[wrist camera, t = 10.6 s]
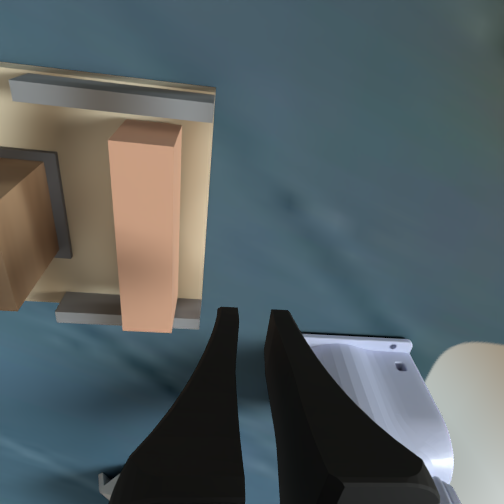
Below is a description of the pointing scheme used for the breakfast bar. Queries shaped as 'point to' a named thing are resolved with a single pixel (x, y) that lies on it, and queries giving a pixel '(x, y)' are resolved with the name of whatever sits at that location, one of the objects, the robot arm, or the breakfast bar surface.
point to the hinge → (106, 485)
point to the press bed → (103, 178)
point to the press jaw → (147, 221)
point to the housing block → (24, 229)
